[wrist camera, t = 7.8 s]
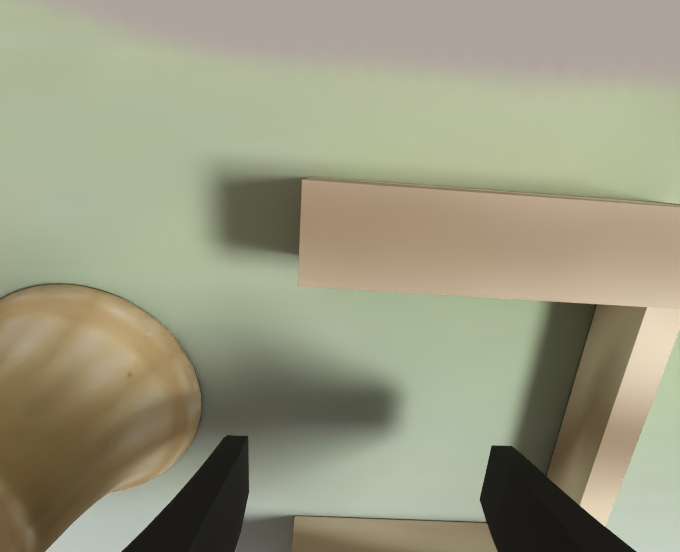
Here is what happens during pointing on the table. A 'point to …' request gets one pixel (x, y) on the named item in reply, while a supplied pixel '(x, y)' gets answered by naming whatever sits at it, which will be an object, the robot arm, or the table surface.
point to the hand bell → (84, 406)
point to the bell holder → (509, 283)
